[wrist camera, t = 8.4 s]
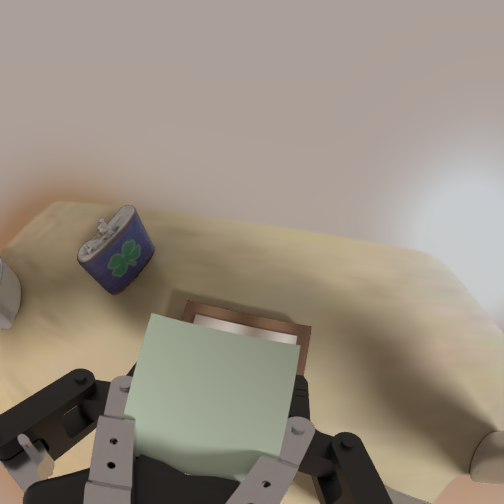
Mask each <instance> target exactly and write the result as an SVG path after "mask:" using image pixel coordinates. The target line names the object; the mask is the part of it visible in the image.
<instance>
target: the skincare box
mask: <svg viewBox="0 0 504 504" xmlns="http://www.w3.org/2000/svg"><path fill="white" fill-rule="evenodd" d="M385 488H386V490H387V492H388V494H389V496H390V498H391V500H392V502H393V504H431V503H428V502H426V501H423V500H420V499H417V498H415V497H412V496H409V495H407V494H404V493H401V492H399V491H396V490H394V489H391V488H388V487H385Z"/></svg>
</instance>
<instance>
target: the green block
mask: <svg viewBox="0 0 504 504" xmlns="http://www.w3.org/2000/svg"><path fill="white" fill-rule="evenodd" d="M300 346H301V345H295V344H289V343H283V342H277V341H271V340H266V339H260V338H255V337H250V336H245V335H240V334H235V333H231V332H226V331H221V330H217V329H213V328H208V327H204V326H200V325H196V324H192V323H188V322H184V321H180V320H176V319H172V318H169V317H165V316H161V315H158V314H154V313H152V314H151V317H150V320H149V323H148V326H147V330H146V333H145V336H144V340H143V343H142V346H141V350H140V353H139V357H138V360H137V364H136V367H135V371H134V375H133V379H132V382H131V386H130V390H129V394H128V398H127V402H126V407H125V411H124V415H123V418H129V419H135V420H136V435H137V446H136V457H139V456H140V454H143V455H145V456H148V457H151V458H153V459H156V460H159V461H162V462H164V463H166V464H168V465H170V466H171V467H173V468H175V469H177V470H179V471H180V472H182V473H186V474H189V475H195V476H215V477H220V478H225V479H230V480H235V481H240V484H241V483H242V481H243V480H244V479H245V477H246V476H247V474H248V473H249V472H250V470H251V469H252V467H253V466H254V465H255V463H256V462H257V460H258V459H259V457H260V456H261V455H262V453H264V454H267V455H269V456H272V457H275V458H277V459H279V455H280V451H281V447H282V442H283V438H284V433H285V428H286V424H287V419H288V414H289V409H290V404H291V399H292V393H293V388H294V382H295V377H296V371H297V365H298V359H299V353H300Z"/></svg>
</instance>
